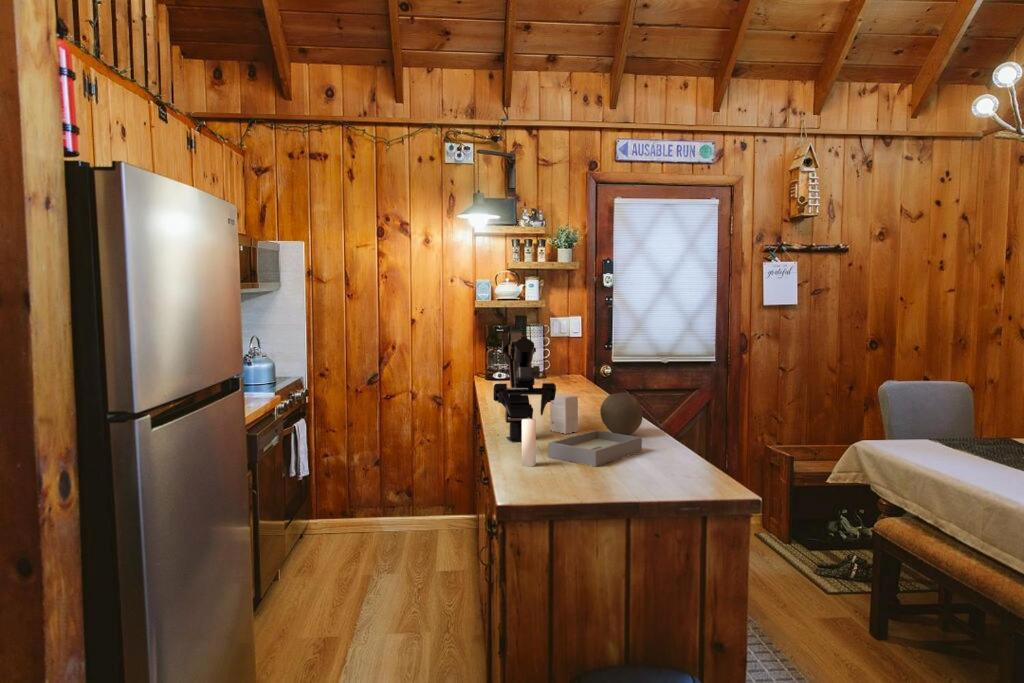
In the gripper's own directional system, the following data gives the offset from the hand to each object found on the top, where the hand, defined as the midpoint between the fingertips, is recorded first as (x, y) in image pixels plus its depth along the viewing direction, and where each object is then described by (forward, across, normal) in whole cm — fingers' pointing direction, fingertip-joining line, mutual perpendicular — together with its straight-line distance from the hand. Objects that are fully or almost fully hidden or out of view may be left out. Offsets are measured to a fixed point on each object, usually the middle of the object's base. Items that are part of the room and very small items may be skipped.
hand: (526, 414), depth 193 cm
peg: (+15, 0, +4) cm, 15 cm away
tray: (+7, +22, +12) cm, 26 cm away
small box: (-18, +17, +37) cm, 45 cm away
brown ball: (-12, +36, +31) cm, 49 cm away
